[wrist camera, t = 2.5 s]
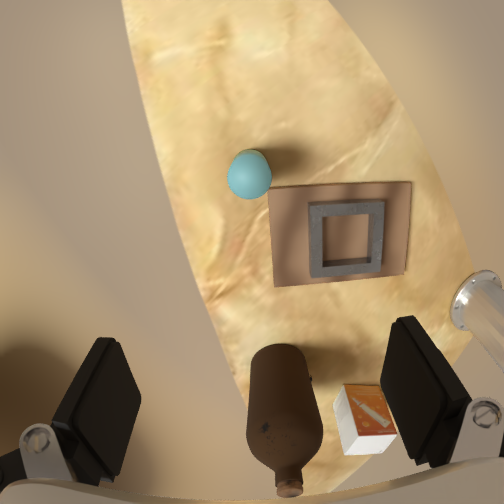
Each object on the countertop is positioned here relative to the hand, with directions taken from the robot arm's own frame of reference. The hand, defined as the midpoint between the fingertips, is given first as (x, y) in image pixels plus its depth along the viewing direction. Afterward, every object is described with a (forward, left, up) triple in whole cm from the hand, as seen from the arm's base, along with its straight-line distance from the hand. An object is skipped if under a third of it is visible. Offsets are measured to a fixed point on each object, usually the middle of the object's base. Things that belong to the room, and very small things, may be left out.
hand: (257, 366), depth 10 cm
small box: (-17, +42, -34) cm, 56 cm away
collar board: (-12, +8, -34) cm, 36 cm away
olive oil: (-2, +31, -34) cm, 46 cm away
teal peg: (0, -2, -34) cm, 34 cm away
